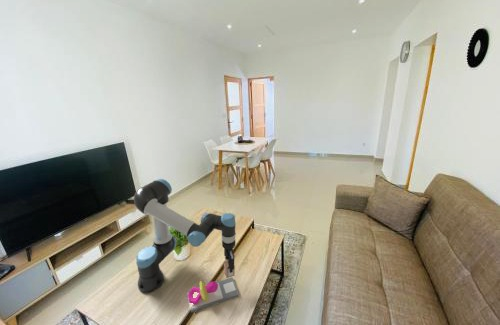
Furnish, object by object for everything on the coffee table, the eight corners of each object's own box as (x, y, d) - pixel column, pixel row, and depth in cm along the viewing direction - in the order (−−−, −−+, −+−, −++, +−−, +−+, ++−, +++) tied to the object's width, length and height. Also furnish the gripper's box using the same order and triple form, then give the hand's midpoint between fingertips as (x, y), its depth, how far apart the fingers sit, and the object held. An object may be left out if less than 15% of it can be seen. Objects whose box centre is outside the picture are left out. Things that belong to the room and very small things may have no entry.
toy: (189, 291, 129) (184, 286, 121) (217, 278, 132) (213, 273, 124) (193, 309, 122) (187, 306, 115) (222, 295, 125) (218, 291, 118)
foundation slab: (190, 313, 117) (189, 311, 117) (187, 293, 128) (187, 291, 128) (238, 296, 127) (238, 294, 127) (232, 278, 139) (232, 277, 138)
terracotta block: (226, 278, 124) (226, 269, 122) (224, 271, 129) (223, 262, 126) (234, 275, 126) (234, 266, 124) (232, 269, 130) (231, 260, 128)
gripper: (240, 248, 113) (240, 281, 120) (230, 228, 128) (230, 259, 136) (226, 252, 110) (227, 285, 118) (218, 231, 126) (219, 262, 133)
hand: (229, 271), depth 127 cm, fingers closed on terracotta block, 5 cm apart
